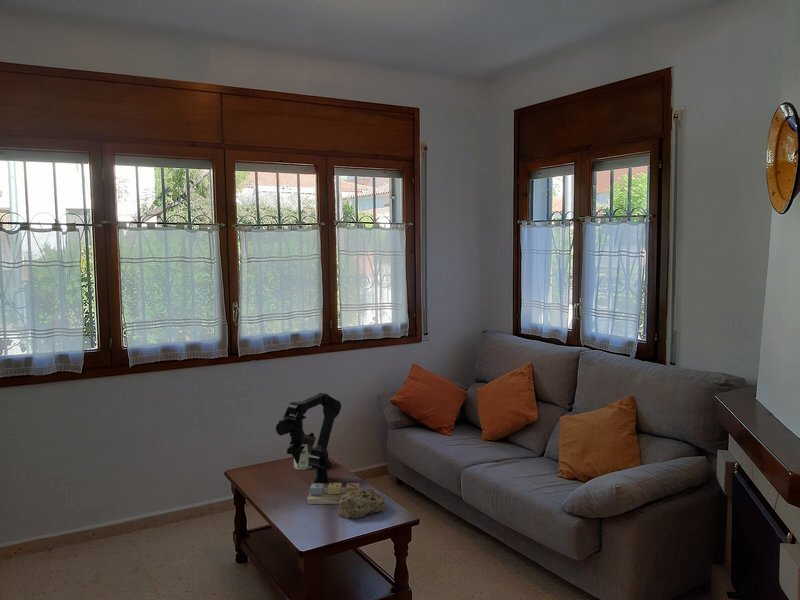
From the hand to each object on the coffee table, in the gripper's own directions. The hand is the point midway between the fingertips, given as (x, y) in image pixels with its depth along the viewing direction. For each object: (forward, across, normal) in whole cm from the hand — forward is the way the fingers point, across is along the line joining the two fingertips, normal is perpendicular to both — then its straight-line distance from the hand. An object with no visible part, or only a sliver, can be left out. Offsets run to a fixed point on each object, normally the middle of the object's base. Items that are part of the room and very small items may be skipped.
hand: (297, 463), depth 299 cm
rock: (+13, -25, -31) cm, 42 cm away
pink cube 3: (+13, -10, -26) cm, 31 cm away
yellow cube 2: (+13, -10, -18) cm, 24 cm away
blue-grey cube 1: (+13, -10, -10) cm, 19 cm away
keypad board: (+13, -10, -18) cm, 24 cm away
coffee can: (+13, +33, +3) cm, 36 cm away
